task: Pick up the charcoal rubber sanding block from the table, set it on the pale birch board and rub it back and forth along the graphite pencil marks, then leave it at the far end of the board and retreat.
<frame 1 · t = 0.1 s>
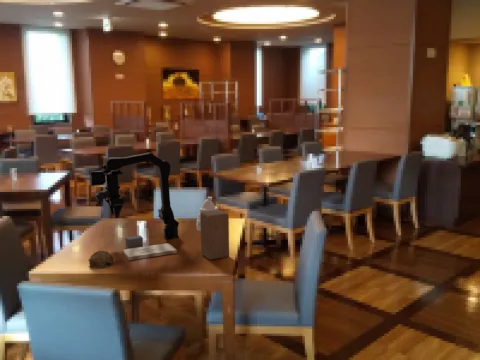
hand: (114, 216, 230), 15 cm above the table, tool pointing down, fingers open, 9 cm apart
brown dome: (100, 265, 204), on the table
sanding block: (134, 247, 228), on the table
board: (149, 252, 219), on the table
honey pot: (208, 229, 260), on the table
wooden block: (215, 256, 214), on the table
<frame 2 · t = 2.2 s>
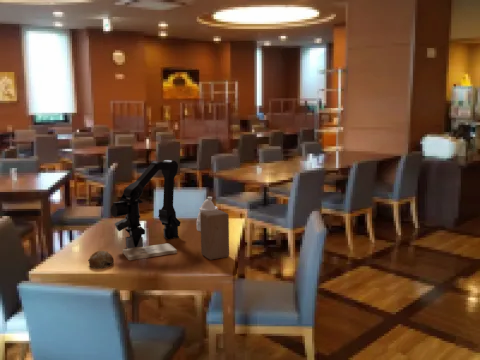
hand: (134, 245, 228), 1 cm above the table, tool pointing down, fingers closed on sanding block, 4 cm apart
sanding block: (134, 247, 228), on the table, touching gripper
everything else where it was.
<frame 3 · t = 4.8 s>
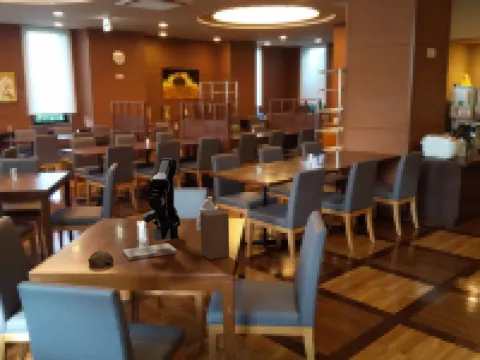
hand: (161, 237, 221), 6 cm above the table, tool pointing down, fingers closed on sanding block, 4 cm apart
sanding block: (161, 239, 221), point 5 cm above the table, touching gripper
everything else where it was.
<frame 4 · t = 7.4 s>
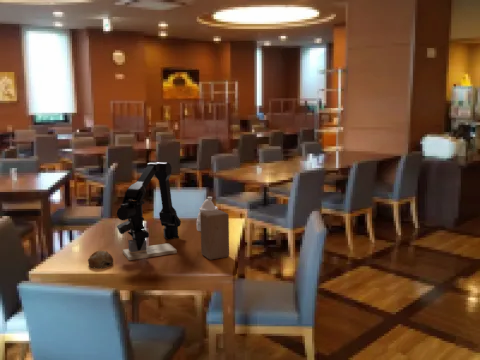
hand: (137, 248, 217), 3 cm above the table, tool pointing down, fingers closed on sanding block, 4 cm apart
sanding block: (137, 251, 217), point 2 cm above the table, touching gripper
everything else where it was.
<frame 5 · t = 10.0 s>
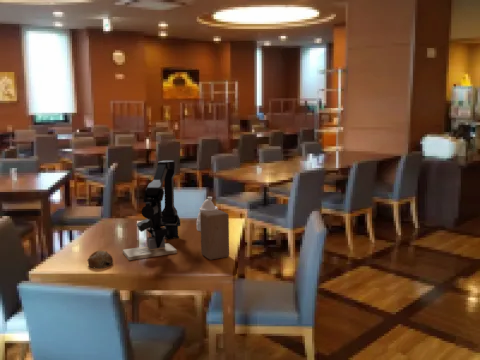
hand: (156, 246, 220), 3 cm above the table, tool pointing down, fingers closed on sanding block, 4 cm apart
sanding block: (156, 248, 220), point 2 cm above the table, touching gripper
everything else where it was.
when the fingers open (3 cm above the table, at t = 12.3 s): sanding block stays where it is, resting on board.
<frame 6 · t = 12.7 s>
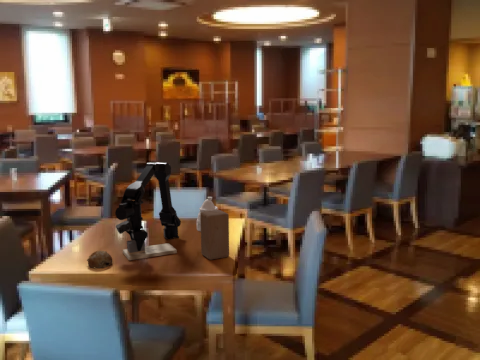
hand: (136, 248, 216), 3 cm above the table, tool pointing down, fingers open, 9 cm apart
sanding block: (136, 251, 216), point 2 cm above the table, touching board
everything else where it was.
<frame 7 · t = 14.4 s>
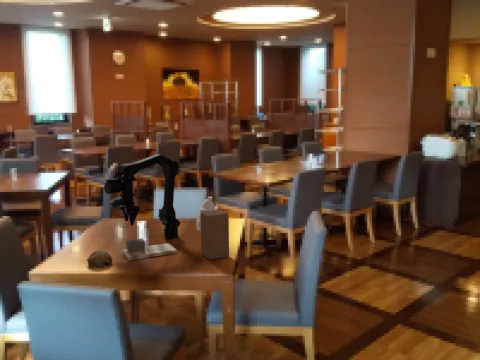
hand: (129, 223, 226), 12 cm above the table, tool pointing down, fingers open, 9 cm apart
nothing on the table moved.
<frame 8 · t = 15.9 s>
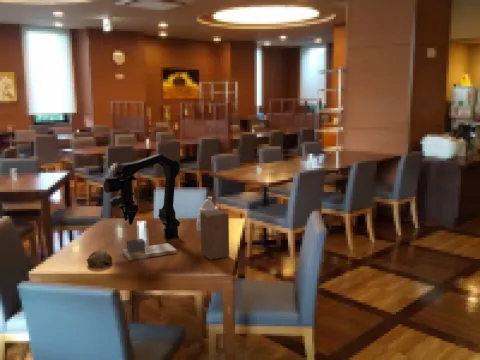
hand: (128, 222, 227), 12 cm above the table, tool pointing down, fingers open, 9 cm apart
nothing on the table moved.
at the end: sanding block inside the target area (0.7 cm from its centre), point 1.5 cm above the table; sanding block tilted 1°; the gripper is holding nothing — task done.
